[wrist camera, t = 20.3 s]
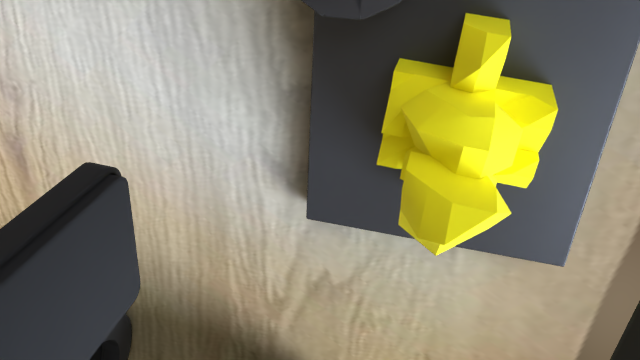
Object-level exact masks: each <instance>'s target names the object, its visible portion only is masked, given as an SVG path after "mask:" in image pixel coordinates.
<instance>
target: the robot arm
mask: <svg viewBox="0 0 640 360" xmlns="http://www.w3.org/2000/svg"><path fill="white" fill-rule="evenodd" d="M139 290H140V275H139V267H138V259H137V251H136V243H135V235H134V227H133V219H132V211H131V203H130V195H129V188H128V182H127V180H126V178H124V177H121V173H120V172H119V170H118V169H117V168H115V167H110V166H105V165H100V164H95V163H90V162H89V163H84V164H83V165H81V166H80V167H78V168H77V169H76V170H75V171H73V172H72V173H71V174H70V175H68V176H67V177H66V178H65V179H63V180H62V181H61V182H59V183H58V184H57V185H56V186H54V187H53V188H52V189H51V190H49V191H48V192H47V193H45V194H44V195H43V196H42V197H40V198H39V199H38V200H37V201H35V202H34V203H33V204H31V205H30V206H29V207H28V208H26V209H25V210H24V211H23V212H21V213H20V214H19V215H18V216H16V217H15V218H14V219H12V220H11V221H10V222H9V223H7V224H6V225H5V226H4V227H2V228H1V229H0V360H89V359H90V358H91V357H92V355H93V354H94V353H95V351H96V350H97V349H98V348H99V346H100V345H101V344H102V342H103V341H104V340H105V339H106V337H107V336H108V335H109V333H110V332H111V331H112V330H113V328H114V327H115V326H116V324H117V323H118V322H119V320H120V319H121V318H122V317H123V315H124V314H125V313H126V311H127V310H128V309H129V308H130V306H131V305H132V304H133V302H134V301H135V299H136V298H137V296H138V293H139ZM610 360H640V301H639V304H638V305H637V307H636V309H635V311H634V313H633V315H632V317H631V319H630V321H629V323H628V325H627V327H626V329H625V331H624V333H623V335H622V337H621V339H620V341H619V343H618V345H617V347H616V349H615V351H614V353H613V355H612V357H611V359H610Z"/></svg>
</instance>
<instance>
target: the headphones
mask: <svg viewBox="0 0 640 360" xmlns="http://www.w3.org/2000/svg"><path fill="white" fill-rule="evenodd" d="M131 337H132V329H131V323H130V319H129V317H128V316H127V315H126V313H125V314H124V315H123V317H122V318H121V319H120V320H119V322H118V323H117V324H116V326H115V327H114V328H113V330H112V331H111V332H110V333H109V335H108V336H107V337H106V339H105V340H104V341H103V342H102V344H101V345H100V346H99V348H98V349H97V350H96V351H95V353H94V354H93V355H92V357H91V358H90V359H89V360H128V356H129V351H130V346H131Z"/></svg>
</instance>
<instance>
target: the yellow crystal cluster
mask: <svg viewBox="0 0 640 360" xmlns="http://www.w3.org/2000/svg"><path fill="white" fill-rule="evenodd" d="M510 40H511V29H510V20H507V19H500V18H494V17H488V16H482V15H475V14H469V13H466V14H465V18H464V23H463V27H462V32H461V36H460V40H459V45H458V49H457V54H456V58H455V62H454V67H447V66H441V65H436V64H430V63H424V62H419V61H413V60H407V59H402V58H400V59H399V61H398V63H397V65H396V67H395V70H394V73H393V79H392V85H391V91H390V95H389V100H388V104H387V109H386V113H385V118H384V123H383V127H382V132H381V133H383V138H382V143H381V147H380V151H379V156H378V160H377V164H376V165H381V166H386V167H390V168H395V169H402V170H401V176H400V179H401V180H403V181H404V182H403V187H402V195H401V208H400V216H399V223H398V225H399V226H401V227H402V228H403V229H404V230H405V231H407V232H408V233H409V234H410V235H411V236H413V237H414V238H415V239H416V240H417V241H419V242H420V243H421V244H422V245H423V246H425V247H426V248H427V249H428V250H429V251H431V252H432V253H433V254H434V255H435V256H436V255H438V254H440V253H442V252H444V251H446V250H448V249H450V248H452V247H454V246H456V245H457V244H459V243H461V242H463V241H465V240H467V239H469V238H471V237H473V236H475V235H477V234H479V233H481V232H483V231H485V230H487V229H489V228H490V227H492V226H493V225H495V224H496V223H498V222H499V221H501V220H502V219H504V218H505V217H507V216H508V215H510V214H511V211H510V210H509V208H508V206H507V205H506V203H505V201H504V200H503V198H502V196H501V195H500V193H499V192H498V190H497V188H496V183H497V182H498V183H503V184H508V185H513V186H518V187H522V188H527V186H528V185H529V183H530V182H531V181H532V179H533V177H534V174H535V171H536V168H537V165H538V162H539V155H538V152H539V150H540V149H541V147H542V145H543V143H544V142H545V140H546V138H547V137H548V135H549V133H550V131H551V129H552V126H553V123H554V120H555V117H556V114H557V112H558V107H557V103H556V100H555V96H554V92H553V88H552V85H549V84H544V83H538V82H532V81H527V80H521V79H515V78H510V77H504V76H500V74H501V71H502V68H503V65H504V62H505V59H506V55H507V51H508V48H509V44H510Z"/></svg>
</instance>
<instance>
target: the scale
mask: <svg viewBox="0 0 640 360" xmlns="http://www.w3.org/2000/svg"><path fill="white" fill-rule="evenodd" d="M301 1H303V2H304V3H305V4H307V5H308V6H309V7H311V8H312V9H314V10H315V14H314V39H313V64H312V90H311V115H310V140H309V165H308V190H307V216H306V217H307V219H311V220H316V221H322V222H327V223H332V224H338V225H343V226H349V227H354V228H359V229H365V230H370V231H375V232H381V233H386V234H391V235H397V236H402V237H407V238H413V239H415V238H414V237H413V236H411V235H410V234H409V233H408V232H407V231H405V230H404V229H403V228H402V227H401V226H399V225H398V223H399V216H400V208H401V195H402V187H403V182H404V181H403V180H401V179H400V176H401V170H402V169H395V168H390V167H386V166H381V165H376V164H377V160H378V156H379V151H380V147H381V143H382V138H383V133H381V132H382V127H383V123H384V118H385V113H386V109H387V104H388V100H389V95H390V91H391V85H392V79H393V73H394V70H395V67H396V65H397V63H398V61H399V59H400V58H402V59H407V60H413V61H419V62H424V63H430V64H436V65H441V66H447V67H454V62H455V58H456V54H457V49H458V45H459V40H460V36H461V32H462V27H463V23H464V18H465V14H466V13H469V14H475V15H482V16H488V17H494V18H500V19H507V20H510V29H511V40H510V44H509V48H508V51H507V55H506V59H505V62H504V65H503V68H502V71H501V74H500V76H504V77H510V78H515V79H521V80H527V81H532V82H538V83H544V84H549V85H552V88H553V92H554V96H555V100H556V103H557V107H558V112H557V114H556V117H555V120H554V123H553V126H552V129H551V131H550V133H549V135H548V137H547V138H546V140H545V142H544V143H543V145H542V147H541V149H540V150H539V152H538V155H539V162H538V165H537V168H536V171H535V174H534V177H533V179H532V181H531V182H530V183H529V185H528V186H527V188H522V187H518V186H513V185H508V184H503V183H498V182H497V183H496V188H497V190H498V192H499V193H500V195H501V196H502V198H503V200H504V201H505V203H506V205H507V206H508V208H509V210H510V211H511V214H510V215H508V216H507V217H505V218H504V219H502V220H501V221H499V222H498V223H496V224H495V225H493V226H492V227H490V228H489V229H487V230H485V231H483V232H481V233H479V234H477V235H475V236H473V237H471V238H469V239H467V240H465V241H463V242H461V243H459V244H457V245H456V246H455V247H461V248H466V249H471V250H477V251H482V252H487V253H493V254H498V255H503V256H509V257H514V258H519V259H525V260H530V261H535V262H541V263H546V264H551V265H557V266H562V267H564V265H565V262H566V259H567V256H568V253H569V251H570V248H571V245H572V242H573V239H574V236H575V233H576V230H577V227H578V224H579V221H580V218H581V215H582V212H583V209H584V206H585V203H586V200H587V197H588V194H589V191H590V188H591V185H592V182H593V179H594V176H595V173H596V170H597V167H598V164H599V161H600V158H601V155H602V152H603V149H604V146H605V143H606V140H607V137H608V134H609V131H610V128H611V125H612V122H613V119H614V116H615V113H616V110H617V107H618V104H619V102H620V99H621V96H622V93H623V90H624V87H625V84H626V81H627V78H628V75H629V72H630V69H631V66H632V63H633V60H634V57H635V54H636V51H637V48H638V45H639V42H640V0H301Z"/></svg>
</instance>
